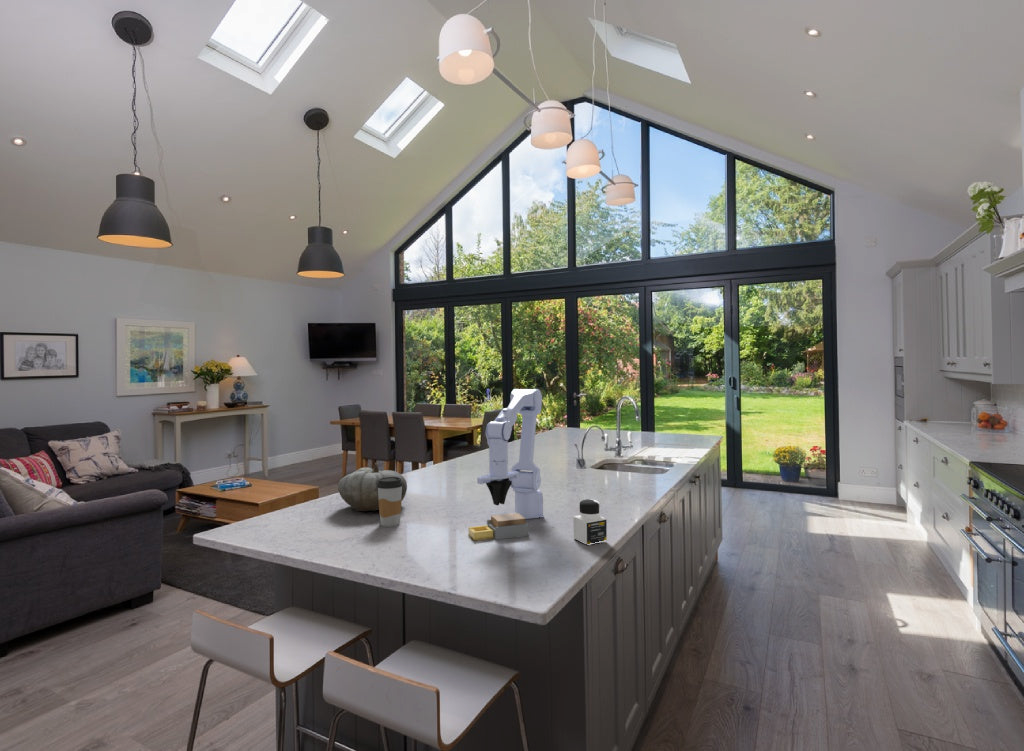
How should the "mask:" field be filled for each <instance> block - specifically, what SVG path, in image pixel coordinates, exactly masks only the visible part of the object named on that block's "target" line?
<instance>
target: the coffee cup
mask: <svg viewBox="0 0 1024 751" xmlns="http://www.w3.org/2000/svg"><path fill="white" fill-rule="evenodd" d="M377 484H378V485H377V487H378V497H379V500H378V501H379V511H378V512H379V521H380V524H381V526H382V527H384V528H385V527H387V528H388V527H389V528H390V527H396V526H399V525H400V523H401V514H402V513H401V512H402V501H403V500H402V498H401V496H402V486H403V485H402V481H401V478H399V477H385V478H380V479H379V482H378V483H377Z"/></svg>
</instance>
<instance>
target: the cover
mask: <svg viewBox="0 0 1024 751" xmlns="http://www.w3.org/2000/svg"><path fill="white" fill-rule="evenodd" d="M490 520H491V524H492V525H493V526H495V527H501V526H510V525H518V524H527V519H526V518H525V517H523V516H522V515H520V514H519V513H514V512H511V513H504V514H494V515H491V516H490Z"/></svg>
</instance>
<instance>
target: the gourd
mask: <svg viewBox="0 0 1024 751" xmlns="http://www.w3.org/2000/svg"><path fill="white" fill-rule="evenodd" d="M378 466H379V465H378V463H377V462H375V463H374V465H373V468H371V467H367V466H366V467H360V468H359V469H357V470H355V471H354V472H352V473H349V474H347V475H345V476H344V477H342V478H340V480H339V482H338V484H337V489H338V492H339V495H340V497H341V499H342V500H343V501H344V502H345V503H346V504H347V505H348V506H350V507H351V508H352V509H354V510H356V511H359V512H369V511H372V512H375V511H378V510H379V501H378V500H379V497H378V487H377V485H378V484H377V483H378V482H379V479H380V478H385V477H399V478H401V481H402V485H403V486H402V496H401V498H402V501H403V500H404V498H405V497H406V494H407V489H408V485H407V480H406V479H405V477H404V476H403V475H402V474H401V473H399V472H398V471H395V470H388V469H384V470H380V469H379V467H378Z"/></svg>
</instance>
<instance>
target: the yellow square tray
mask: <svg viewBox="0 0 1024 751" xmlns="http://www.w3.org/2000/svg"><path fill="white" fill-rule="evenodd" d="M468 536H469V538H471V539H472V541H481V540H482V541H483V540H489V539H490V540H491V539H494V537H493V530H491V529H490V528H489V527H488V526H487V524H485V525H484V524H483V525H476V526H469V527H468Z"/></svg>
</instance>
